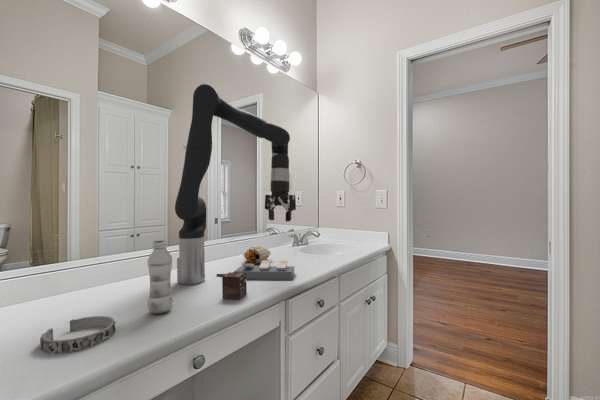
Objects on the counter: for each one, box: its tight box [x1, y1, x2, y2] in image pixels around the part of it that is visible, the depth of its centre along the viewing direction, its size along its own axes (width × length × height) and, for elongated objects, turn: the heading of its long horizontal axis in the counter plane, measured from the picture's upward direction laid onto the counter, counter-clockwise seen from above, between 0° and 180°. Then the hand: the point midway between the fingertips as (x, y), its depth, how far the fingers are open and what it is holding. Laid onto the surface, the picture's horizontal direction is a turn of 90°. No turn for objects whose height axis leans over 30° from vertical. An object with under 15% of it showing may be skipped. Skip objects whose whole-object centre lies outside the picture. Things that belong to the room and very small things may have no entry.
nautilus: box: [241, 246, 272, 265], centre depth 143 cm, size 8×22×15 cm
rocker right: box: [276, 260, 288, 270], centre depth 117 cm, size 4×6×2 cm, turn 175°
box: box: [221, 271, 248, 301], centre depth 94 cm, size 6×6×7 cm
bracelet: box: [39, 315, 116, 355], centre depth 67 cm, size 14×14×3 cm
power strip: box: [215, 265, 295, 281], centre depth 118 cm, size 32×9×3 cm, turn 85°
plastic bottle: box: [147, 240, 174, 315], centre depth 82 cm, size 6×7×20 cm
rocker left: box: [241, 262, 255, 268], centre depth 118 cm, size 4×6×2 cm, turn 175°
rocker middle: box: [259, 260, 272, 270], centre depth 118 cm, size 4×6×2 cm, turn 175°
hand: (279, 220), depth 115 cm, fingers open, 8 cm apart
